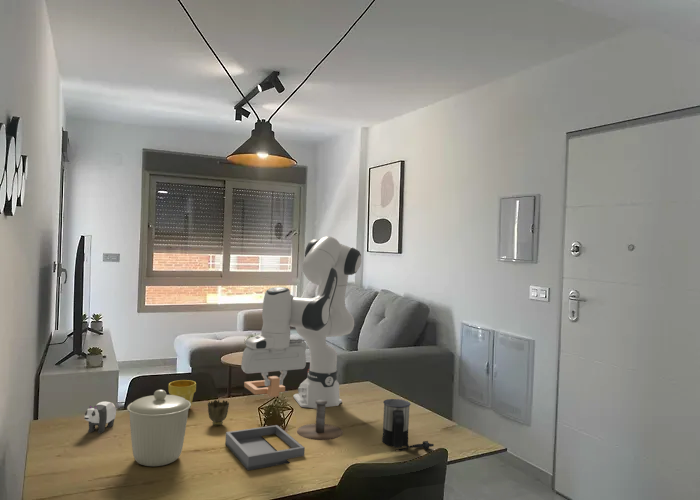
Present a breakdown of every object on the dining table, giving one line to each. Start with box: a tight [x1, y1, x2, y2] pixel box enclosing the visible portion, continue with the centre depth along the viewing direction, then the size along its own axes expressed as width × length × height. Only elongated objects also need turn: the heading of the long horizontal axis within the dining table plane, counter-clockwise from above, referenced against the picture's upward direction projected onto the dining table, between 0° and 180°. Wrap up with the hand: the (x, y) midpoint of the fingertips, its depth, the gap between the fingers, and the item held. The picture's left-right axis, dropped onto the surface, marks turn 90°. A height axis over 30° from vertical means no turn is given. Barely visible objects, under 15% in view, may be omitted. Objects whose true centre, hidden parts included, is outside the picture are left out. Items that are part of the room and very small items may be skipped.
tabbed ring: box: [243, 375, 286, 398], centre depth 172 cm, size 14×10×6 cm
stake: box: [296, 400, 344, 441], centre depth 189 cm, size 16×16×12 cm
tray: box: [225, 424, 305, 471], centre depth 172 cm, size 22×18×4 cm
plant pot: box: [168, 379, 197, 410], centre depth 212 cm, size 10×10×10 cm
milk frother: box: [381, 398, 435, 452], centre depth 182 cm, size 14×16×15 cm
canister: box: [126, 389, 192, 467], centre depth 163 cm, size 18×18×21 cm
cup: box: [207, 399, 230, 427], centre depth 195 cm, size 8×7×8 cm
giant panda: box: [83, 401, 117, 434], centre depth 184 cm, size 15×6×10 cm, turn 174°
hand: (273, 385), depth 167 cm, fingers closed on tabbed ring, 2 cm apart
